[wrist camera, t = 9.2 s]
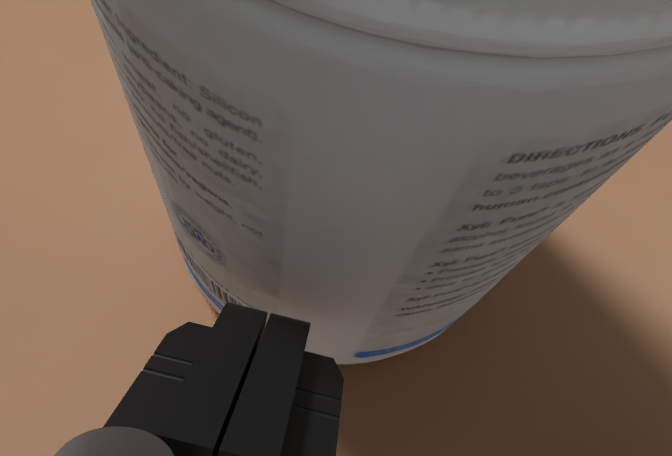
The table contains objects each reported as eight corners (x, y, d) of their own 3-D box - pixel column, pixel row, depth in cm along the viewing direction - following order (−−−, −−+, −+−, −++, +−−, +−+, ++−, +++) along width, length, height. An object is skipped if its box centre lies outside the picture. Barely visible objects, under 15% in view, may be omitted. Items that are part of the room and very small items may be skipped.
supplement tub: (478, 108, 21) (867, -574, 8) (493, 386, 17) (1354, -25, 4) (197, 74, 20) (81, -758, 7) (143, 358, 16) (-388, -308, 3)
